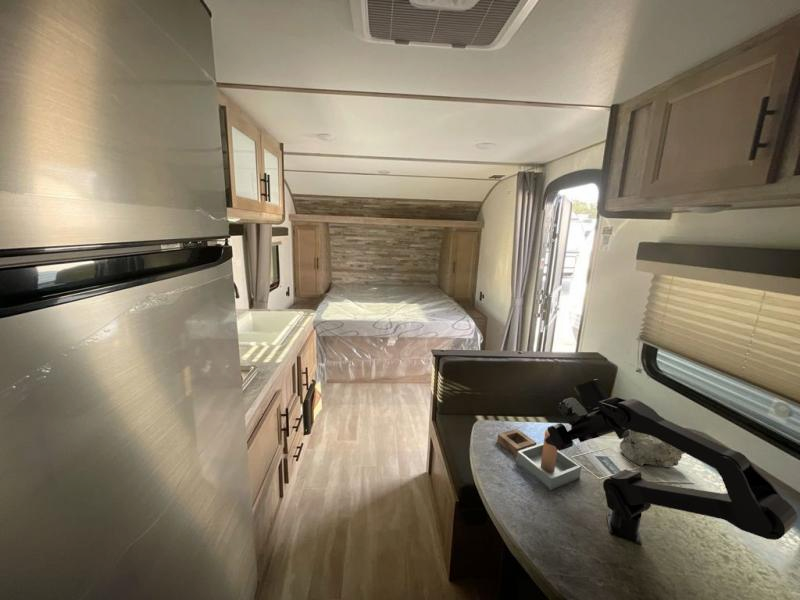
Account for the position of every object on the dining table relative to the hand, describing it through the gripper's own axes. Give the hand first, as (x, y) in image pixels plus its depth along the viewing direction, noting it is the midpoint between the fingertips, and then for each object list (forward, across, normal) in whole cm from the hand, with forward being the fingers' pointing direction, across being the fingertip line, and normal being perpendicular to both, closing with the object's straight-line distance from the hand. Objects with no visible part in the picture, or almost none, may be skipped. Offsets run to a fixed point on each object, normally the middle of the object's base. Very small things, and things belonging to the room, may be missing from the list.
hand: (556, 438), depth 96 cm
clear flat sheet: (+7, -21, +11) cm, 25 cm away
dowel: (+9, 0, +7) cm, 12 cm away
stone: (+3, -37, +15) cm, 40 cm away
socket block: (+19, 0, -2) cm, 19 cm away
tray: (+10, 0, +7) cm, 12 cm away
